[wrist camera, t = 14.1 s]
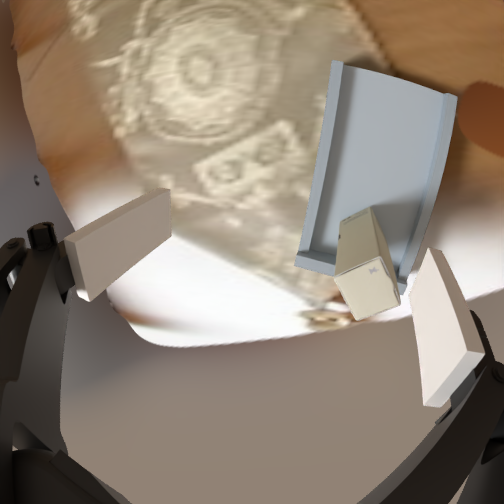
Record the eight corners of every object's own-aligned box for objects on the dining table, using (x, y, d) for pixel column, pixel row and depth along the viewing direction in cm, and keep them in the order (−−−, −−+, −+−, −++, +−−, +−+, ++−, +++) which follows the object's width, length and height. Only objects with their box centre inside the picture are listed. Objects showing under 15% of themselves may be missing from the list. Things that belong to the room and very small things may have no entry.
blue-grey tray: (334, 66, 27) (331, 57, 23) (446, 99, 24) (460, 96, 20) (301, 248, 39) (294, 265, 34) (398, 275, 35) (402, 295, 31)
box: (338, 220, 33) (329, 274, 22) (371, 204, 31) (380, 252, 20) (357, 257, 34) (355, 323, 23) (389, 243, 32) (402, 306, 21)
